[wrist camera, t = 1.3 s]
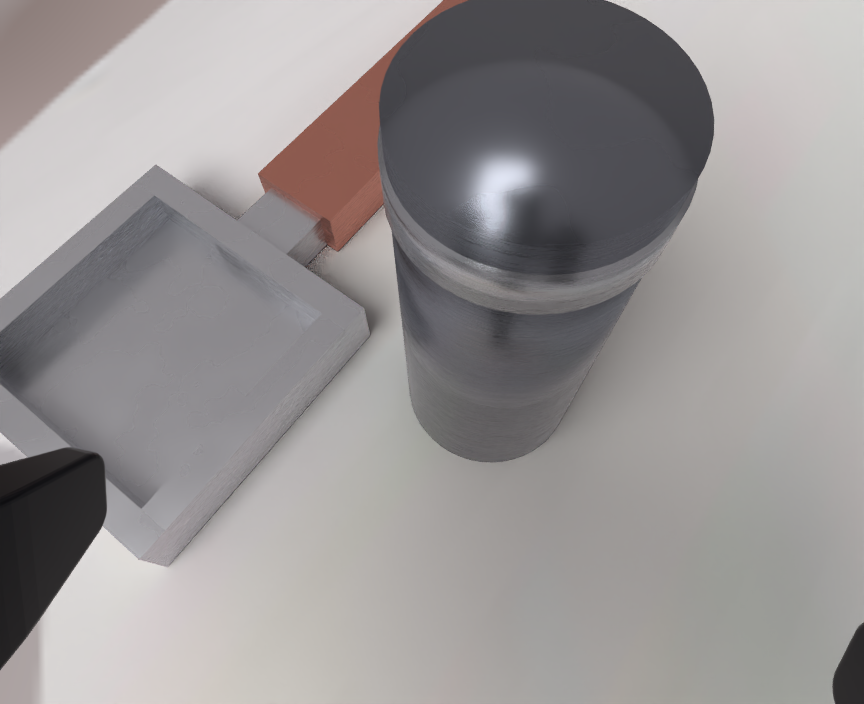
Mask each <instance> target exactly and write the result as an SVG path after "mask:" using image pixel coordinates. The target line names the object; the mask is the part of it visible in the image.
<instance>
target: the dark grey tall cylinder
mask: <svg viewBox="0 0 864 704" xmlns="http://www.w3.org/2000/svg"><path fill="white" fill-rule="evenodd" d="M379 117H380V126H379V134H378V142H377V145H378V162H379V170H380V178H381V186H382V195H383V202H384V207H385V212H386V216H387V219H388V222H389V225H390V227H391V230H392V237H393V246H394V255H395V264H396V273H397V282H398V291H399V300H400V309H401V318H402V327H403V336H404V345H405V354H406V363H407V372H408V381H409V390H410V397H411V402H412V406H413V409H414V412H415V414H416V416H417V418H418V420H419V422H420V424H421V425H422V427H423V428H424V430H425V431H426V432H427V433H428V434H429V435H430V437H431V438H432V439H433V440H434V441H436V442H437V443H438V444H439V445H440V446H442V447H443V448H445V449H447V450H448V451H450V452H452V453H454V454H456V455H458V456H460V457H464V458H467V459H470V460H475V461H480V462H501V461H507V460H512V459H515V458H518V457H521V456H523V455H525V454H527V453H529V452H531V451H533V450H534V449H536V448H537V447H539V446H540V445H541V444H543V443H544V442H545V441H546V440H547V439H548V438H549V437H550V436H551V434H552V433H553V432H554V431H555V429H556V427H557V426H558V424H559V422H560V421H561V419H562V417H563V415H564V414H565V412H566V410H567V408H568V407H569V405H570V403H571V401H572V400H573V398H574V396H575V394H576V393H577V391H578V389H579V387H580V385H581V384H582V382H583V380H584V378H585V377H586V375H587V373H588V371H589V370H590V368H591V366H592V364H593V363H594V361H595V359H596V357H597V356H598V354H599V352H600V350H601V348H602V347H603V345H604V343H605V341H606V340H607V338H608V336H609V334H610V333H611V331H612V329H613V327H614V326H615V324H616V322H617V320H618V319H619V317H620V315H621V313H622V311H623V310H624V308H625V306H626V304H627V303H628V301H629V299H630V297H631V296H632V294H633V292H634V290H635V289H636V287H637V285H638V283H639V282H640V280H641V278H642V277H643V276H644V275H645V274H646V273H647V272H648V271H649V269H650V268H651V267H652V266H653V265H654V264H655V262H656V261H657V260H658V258H659V257H660V255H661V253H662V252H663V250H664V248H665V247H666V245H667V243H668V242H669V240H670V238H671V237H672V235H673V233H674V231H675V230H676V228H677V226H678V225H679V223H680V221H681V219H682V218H683V216H684V214H685V213H686V211H687V209H688V207H689V206H690V203H691V201H692V198H693V196H694V193H695V190H696V186H697V181H698V178H699V176H700V174H701V172H702V171H703V169H704V167H705V164H706V161H707V159H708V156H709V154H710V151H711V146H712V141H713V136H714V115H713V109H712V102H711V99H710V96H709V93H708V90H707V87H706V84H705V82H704V80H703V78H702V76H701V74H700V72H699V70H698V69H697V67H696V66H695V64H694V63H693V62H692V60H691V59H690V57H689V56H688V55H687V54H686V52H685V51H684V50H683V49H682V48H681V47H680V46H679V45H678V44H677V43H676V42H675V41H674V40H673V39H672V38H671V37H670V36H668V35H667V34H666V33H665V32H664V31H663V30H661V29H660V28H658V27H657V26H655V25H654V24H653V23H651V22H650V21H648V20H647V19H645V18H643V17H641V16H639V15H638V14H636V13H634V12H632V11H630V10H628V9H626V8H623V7H621V6H619V5H616V4H614V3H611V2H608V1H605V0H468V1H466V2H463V3H460V4H457V5H455V6H453V7H451V8H449V9H447V10H445V11H443V12H441V13H440V14H438V15H437V16H435V17H433V18H432V19H430V20H429V21H427V22H426V23H425V24H423V25H422V26H421V27H420V28H419V29H417V30H416V31H415V32H414V33H413V34H412V35H411V36H410V37H409V38H408V39H407V40H406V41H405V42H404V43H403V44H402V46H401V47H400V49H399V50H398V52H397V53H396V54H395V56H394V57H393V59H392V61H391V63H390V65H389V67H388V69H387V71H386V73H385V76H384V80H383V83H382V87H381V91H380V100H379Z"/></svg>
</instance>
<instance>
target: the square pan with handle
mask: <svg viewBox="0 0 864 704" xmlns="http://www.w3.org/2000/svg"><path fill="white" fill-rule="evenodd" d="M466 1H468V0H443V1H442V2H441V3H440V4H439V5H438V6H437V7H436V8H435V9H434V10H433V11H432V12H431V13H429V14H428V15H427V16H426V17H425V18H424V19H423V20H422V21H421V22H420V23H419V24H418V25H417V26H416V27H414V28H413V29H412V30H411V31H410V32H409V33H408V34H407V35H406V36H405V37H404V38H403V39H402V40H401V41H399V42H398V43H397V44H396V45H395V46H394V47H393V48H392V49H391V50H390V51H389V52H388V53H387V54H386V55H384V56H383V57H382V58H381V59H380V60H379V61H378V62H377V63H376V64H375V65H374V66H373V67H372V68H371V69H369V70H368V71H367V72H366V73H365V74H364V75H363V76H362V77H361V78H360V79H359V80H358V81H357V82H356V83H354V84H353V85H352V86H351V87H350V88H349V89H348V90H347V91H346V92H345V93H344V94H343V95H342V96H341V97H339V98H338V99H337V100H336V101H335V102H334V103H333V104H332V105H331V106H330V107H329V108H328V109H327V110H326V111H324V112H323V113H322V114H321V115H320V116H319V117H318V118H317V119H316V120H315V121H314V122H313V123H312V124H311V125H310V126H308V127H307V128H306V129H305V130H304V131H303V132H302V133H301V134H300V135H299V136H298V137H297V138H296V139H295V140H293V141H292V142H291V143H290V144H289V145H288V146H287V147H286V148H285V149H284V150H283V151H282V152H281V153H280V154H278V155H277V156H276V157H275V158H274V159H273V160H272V161H271V162H270V163H269V164H268V165H267V166H266V167H265V168H263V169H262V170H261V171H260V172H259V173H258V175H259V178H260V180H261V183H262V186H263V188H264V191H265V194H264V195H263V196H262V197H261V198H260V199H259V200H258V201H257V202H256V203H255V204H254V205H253V206H252V207H251V208H250V209H249V210H248V211H247V212H246V213H244V214H243V215H242V216H241V217H240V218H239V219H238V220H236V219H234V218H233V217H231V216H230V215H228V214H227V213H226V212H224V211H223V210H221V209H220V208H218V207H217V206H215V205H214V204H212V203H211V202H210V201H208V200H207V199H205V198H204V197H202V196H201V195H199V194H198V193H197V192H195V191H194V190H192V189H191V188H189V187H188V186H186V185H185V184H183V183H182V182H181V181H179V180H178V179H176V178H175V177H173V176H172V175H170V174H169V173H168V172H166V171H165V170H163V169H162V168H160V167H159V166H157V165H155V166H154V167H152V168H151V169H150V170H149V171H148V172H147V173H145V174H144V175H143V176H142V177H141V178H140V179H138V180H137V181H136V182H135V183H134V184H133V185H132V186H130V187H129V188H128V189H127V190H126V191H125V192H123V193H122V194H121V195H120V196H119V197H118V198H116V199H115V200H114V201H113V202H112V203H111V204H110V205H108V206H107V207H106V208H105V209H104V210H103V211H101V212H100V213H99V214H98V215H97V216H96V217H95V218H93V219H92V220H91V221H90V222H89V223H88V224H86V225H85V226H84V227H83V228H82V229H81V230H79V231H78V232H77V233H76V234H75V235H74V236H73V237H71V238H70V239H69V240H68V241H67V242H66V243H64V244H63V245H62V246H61V247H60V248H59V249H57V250H56V251H55V252H54V253H53V254H52V255H51V256H49V257H48V258H47V259H46V260H45V261H44V262H42V263H41V264H40V265H39V266H38V267H37V268H35V269H34V270H33V271H32V272H31V273H30V274H29V275H27V276H26V277H25V278H24V279H23V280H22V281H20V282H19V283H18V284H17V285H16V286H15V287H13V288H12V289H11V290H10V291H9V292H8V293H7V294H5V295H4V296H3V297H2V298H1V299H0V432H1V433H2V434H3V435H4V436H5V437H6V438H7V439H8V440H9V441H10V442H12V443H13V444H14V445H15V446H16V447H17V448H18V449H19V450H20V451H21V452H22V453H24V454H25V455H26V456H27V457H32V456H35V455H39V454H42V453H46V452H50V451H53V450H57V449H61V448H65V447H73V448H78V449H82V450H87V451H92V452H96V453H98V454H99V455H101V456H102V458H103V460H104V463H105V475H106V495H107V514H106V518H105V521H104V524H103V527H104V528H105V529H106V530H107V531H108V532H110V533H111V534H112V535H113V536H114V537H115V538H116V539H117V540H118V541H119V542H120V543H122V544H123V545H124V546H125V547H126V548H127V549H128V550H129V551H130V552H131V553H132V554H134V555H135V556H136V557H137V558H138V559H139V560H143V561H147V562H150V563H154V564H158V565H162V566H165V567H168V566H169V565H170V563H171V562H172V561H173V560H174V559H175V558H176V557H177V555H178V554H179V553H180V552H181V551H182V550H183V549H184V547H185V546H186V545H187V544H188V543H189V542H190V541H191V539H192V538H193V537H194V536H195V535H196V534H197V533H198V531H199V530H200V529H201V528H202V527H203V526H204V525H205V523H206V522H207V521H208V520H209V519H210V518H211V517H212V515H213V514H214V513H215V512H216V511H217V510H218V509H219V507H220V506H221V505H222V504H223V503H224V502H225V501H226V499H227V498H228V497H229V496H230V495H231V494H232V493H233V491H234V490H235V489H236V488H237V487H238V486H239V485H240V483H241V482H242V481H243V480H244V479H245V478H246V477H247V475H248V474H249V473H250V472H251V471H252V470H253V469H254V467H255V466H256V465H257V464H258V463H259V462H260V461H261V459H262V458H263V457H264V456H265V455H266V454H267V453H268V452H269V450H270V449H271V448H272V447H273V446H274V445H275V444H276V442H277V441H278V440H279V439H280V438H281V437H282V436H283V434H284V433H285V432H286V431H287V430H288V429H289V428H290V426H291V425H292V424H293V423H294V422H295V421H296V420H297V418H298V417H299V416H300V415H301V414H302V413H303V412H304V410H305V409H306V408H307V407H308V406H309V405H310V404H311V402H312V401H313V400H314V399H315V398H316V397H317V396H318V394H319V393H320V392H321V391H322V390H323V389H324V388H325V386H326V385H327V384H328V383H329V382H330V381H331V380H332V378H333V377H334V376H335V375H336V374H337V373H338V372H339V370H340V369H341V368H342V367H343V366H344V365H345V364H346V362H347V361H348V360H349V359H350V358H351V357H352V356H353V354H354V353H355V352H356V351H357V350H358V349H359V348H360V346H361V345H362V344H363V343H364V342H365V341H366V340H367V338H368V337H369V336H370V332H369V327H368V323H367V318H366V314H365V309H364V308H363V307H362V306H360V305H359V304H357V303H356V302H355V301H353V300H352V299H350V298H349V297H347V296H346V295H344V294H343V293H342V292H340V291H339V290H337V289H336V288H334V287H333V286H331V285H330V284H328V283H327V282H326V281H324V280H323V279H321V278H320V277H318V276H317V275H315V274H314V273H313V272H311V271H310V270H308V269H307V268H305V267H306V266H307V265H308V263H309V262H310V261H311V260H312V259H313V258H314V257H315V256H316V255H317V254H318V253H319V252H320V251H321V250H322V249H323V248H324V247H325V246H326V245H328V246H330V247H331V248H333V249H334V250H336V251H337V252H338V251H339V250H340V249H341V248H342V247H343V246H344V245H345V244H346V243H347V241H348V240H349V239H350V238H351V237H352V236H353V235H354V234H355V233H356V232H357V231H358V230H359V229H360V228H361V227H362V226H363V225H364V224H365V223H366V222H367V220H368V219H369V218H370V217H371V216H372V215H373V214H374V213H375V212H376V211H377V210H378V209H379V208H380V207H381V206H382V205H383V204H384V202H383V195H382V186H381V178H380V170H379V162H378V145H377V142H378V134H379V126H380V117H379V100H380V91H381V87H382V83H383V80H384V76H385V73H386V71H387V69H388V67H389V65H390V63H391V61H392V59H393V57H394V56H395V54H396V53H397V52H398V50H399V49H400V47H401V46H402V44H403V43H404V42H405V41H406V40H407V39H408V38H409V37H410V36H411V35H412V34H413V33H414V32H415V31H416V30H417V29H419V28H420V27H421V26H422V25H423V24H425V23H426V22H427V21H429V20H430V19H432V18H433V17H435V16H437V15H438V14H440V13H441V12H443V11H445V10H447V9H449V8H451V7H453V6H455V5H457V4H460V3H463V2H466Z"/></svg>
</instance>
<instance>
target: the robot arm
mask: <svg viewBox="0 0 864 704" xmlns="http://www.w3.org/2000/svg"><path fill="white" fill-rule="evenodd" d="M106 514H107V495H106V475H105V463H104V460H103V458H102V456H101V455H99V454H98V453H96V452H92V451H87V450H82V449H78V448H73V447H65V448H61V449H57V450H53V451H50V452H46V453H42V454H39V455H35V456H32V457H28V458H25V459H21V460H17V461H13V462H10V463H6V464H2V465H0V670H1V669H2V667H3V666H4V665H5V664H6V663H7V661H8V660H9V659H10V658H11V656H12V655H13V654H14V653H15V651H16V650H17V649H18V648H19V646H20V645H21V644H22V643H23V641H24V640H25V639H26V637H27V636H28V635H29V633H30V632H31V631H32V629H33V628H34V626H35V625H36V624H37V622H38V621H39V620H40V618H41V617H42V615H43V614H44V612H45V611H46V609H47V608H48V606H49V605H50V603H51V602H52V601H53V599H54V598H55V596H56V595H57V593H58V592H59V590H60V589H61V587H62V586H63V584H64V583H65V581H66V580H67V578H68V577H69V575H70V574H71V573H72V571H73V570H74V568H75V567H76V565H77V564H78V562H79V561H80V559H81V558H82V556H83V555H84V553H85V552H86V550H87V549H88V547H89V546H90V545H91V543H92V542H93V540H94V539H95V537H96V536H97V534H98V533H99V531H100V530H101V528H102V526H103V524H104V521H105V518H106ZM833 696H834V701H835V704H864V623H862V624H861V625H860V626H859V627H858V628H857V630H856V632H855V634H854V636H853V638H852V639H851V641H850V643H849V645H848V647H847V649H846V651H845V653H844V655H843V657H842V659H841V661H840V663H839V665H838V667H837V669H836V671H835V674H834V678H833Z"/></svg>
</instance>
